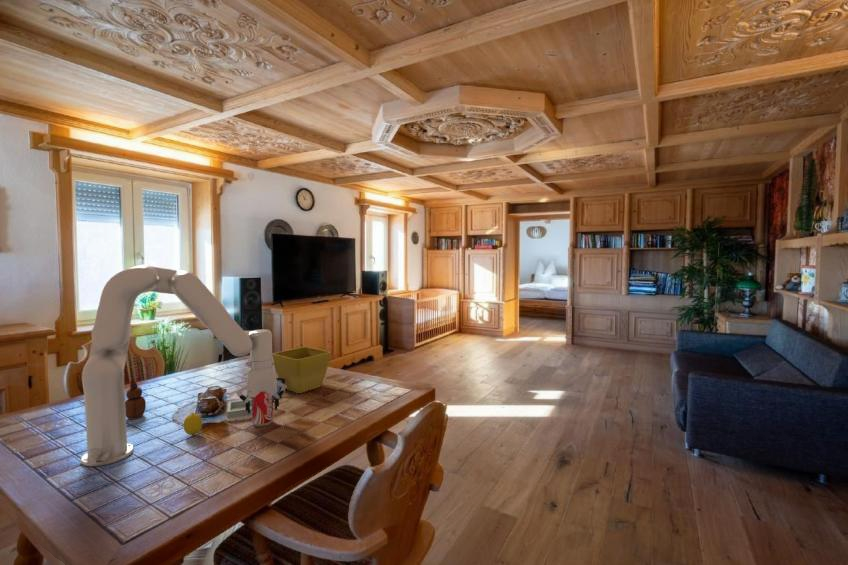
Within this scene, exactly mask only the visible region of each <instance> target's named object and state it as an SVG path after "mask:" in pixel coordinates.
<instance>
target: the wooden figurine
mask: <svg viewBox="0 0 848 565" xmlns="http://www.w3.org/2000/svg"><path fill="white" fill-rule="evenodd" d="M129 384H130V388H129V389H128V390H127V391H126V393H125V397H126V398H127V399H126V400H125V406H126V419H128V420H135V419H139V418H141V417H143V416H144V415H145V412H146V407H147V406H146V405H147V404H146V399H145V397H143V396H142V395H143V390H142V388H141V387H138V384H137V381H135V380H134V379H133V380H132V379H130V383H129Z"/></svg>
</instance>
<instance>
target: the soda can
mask: <svg viewBox="0 0 848 565" xmlns="http://www.w3.org/2000/svg"><path fill="white" fill-rule="evenodd" d="M259 392H260V393H259V394H257V395H256V397H252V419H251V423H252V424H253V426H255V427H265V425H266V426H269V425H270V424H271V423H272V422H273V420H274V407H273V406H274V402H273V395H269V394H268V393H266V392H265V391H259Z"/></svg>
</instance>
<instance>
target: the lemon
mask: <svg viewBox="0 0 848 565" xmlns="http://www.w3.org/2000/svg"><path fill="white" fill-rule="evenodd" d="M202 428H203V419H202V417H201V415H200V414H198V413H195V412H191V413H190V414H188V415H187V416H186V417H185V418H184V421H183V430H184V432H185V433H186V434H187V435H189V436H190V435H191V436H192V437H193V436H194V437H195V436H196V434H198V433H199V432H200V431H201V430H202Z"/></svg>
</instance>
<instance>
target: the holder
mask: <svg viewBox="0 0 848 565" xmlns="http://www.w3.org/2000/svg"><path fill="white" fill-rule="evenodd" d="M249 401H250V413H249V414H248V411H246V403H245V402H244V401H243V400H241V399H237V400H232V401H230V400H229V401H228V404H227V409H226V422H227V421H231V422H236V421H235V420H238V421H244V420H243V419H245V420H251V419H250V418H252V399H250V400H249Z"/></svg>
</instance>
